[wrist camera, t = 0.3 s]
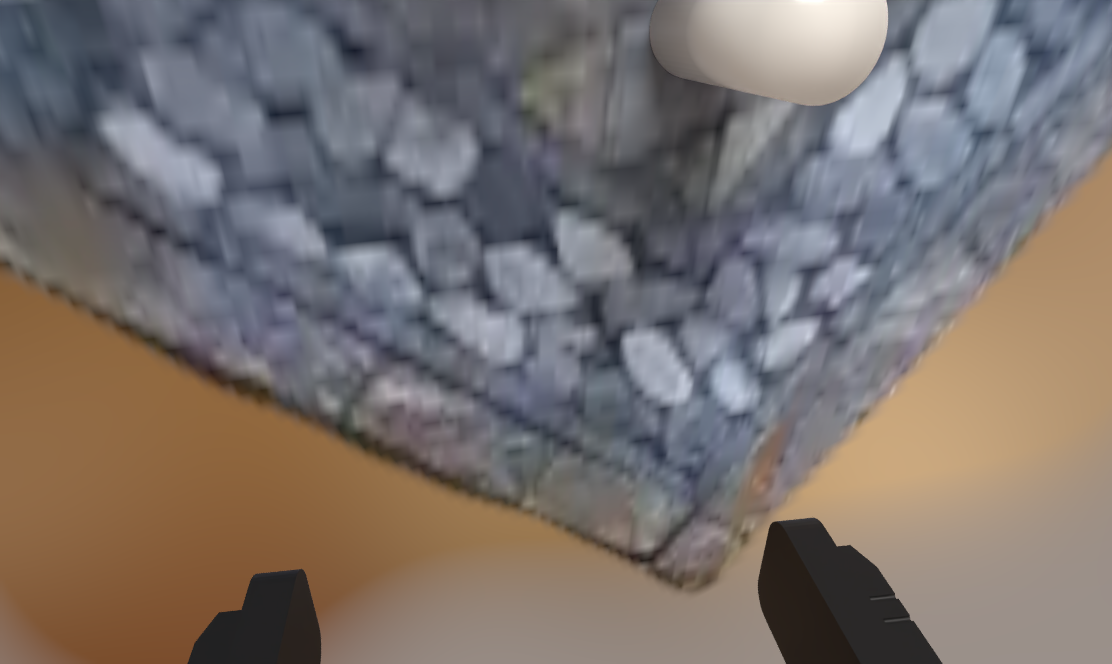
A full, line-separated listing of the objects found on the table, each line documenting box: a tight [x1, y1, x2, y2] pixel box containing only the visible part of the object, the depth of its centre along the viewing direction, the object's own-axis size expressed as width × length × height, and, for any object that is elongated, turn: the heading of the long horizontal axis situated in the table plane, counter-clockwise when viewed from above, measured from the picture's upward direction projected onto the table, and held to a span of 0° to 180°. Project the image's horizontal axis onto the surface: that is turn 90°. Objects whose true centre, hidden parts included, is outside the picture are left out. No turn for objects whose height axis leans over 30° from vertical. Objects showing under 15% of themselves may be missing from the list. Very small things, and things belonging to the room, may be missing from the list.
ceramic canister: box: [650, 0, 888, 106], centre depth 30 cm, size 5×5×12 cm
